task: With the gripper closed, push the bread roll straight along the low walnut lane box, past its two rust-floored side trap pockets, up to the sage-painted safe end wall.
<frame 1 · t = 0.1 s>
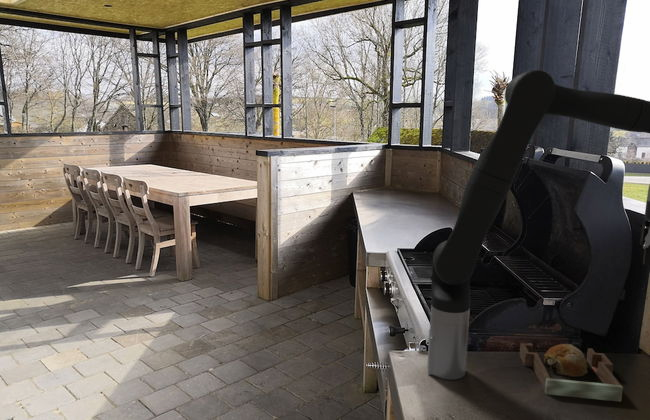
bread roll: (564, 369, 125), on the table
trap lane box: (570, 376, 120), on the table
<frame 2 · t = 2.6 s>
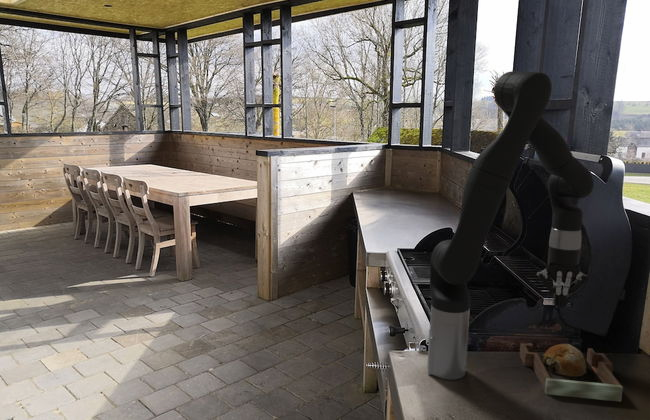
hand: (559, 307, 132), 13 cm above the table, tool pointing down, fingers closed
nothing on the table moved.
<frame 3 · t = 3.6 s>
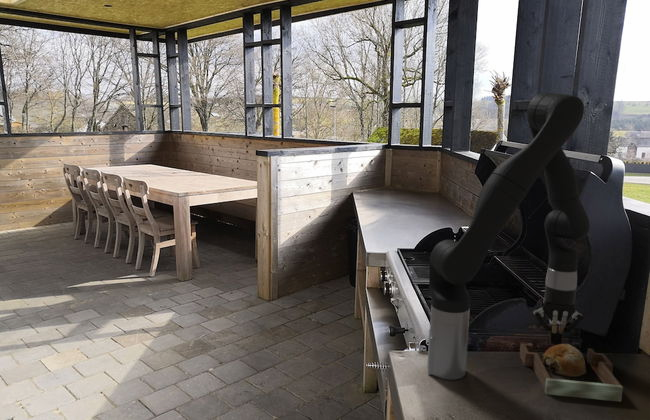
hand: (554, 344, 134), 2 cm above the table, tool pointing down, fingers closed
nothing on the table moved.
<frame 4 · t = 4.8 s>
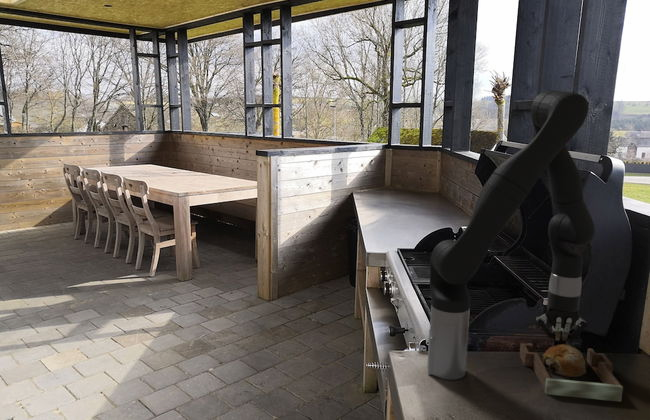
hand: (558, 352, 130), 1 cm above the table, tool pointing down, fingers closed
bread roll: (562, 369, 124), on the table, touching gripper
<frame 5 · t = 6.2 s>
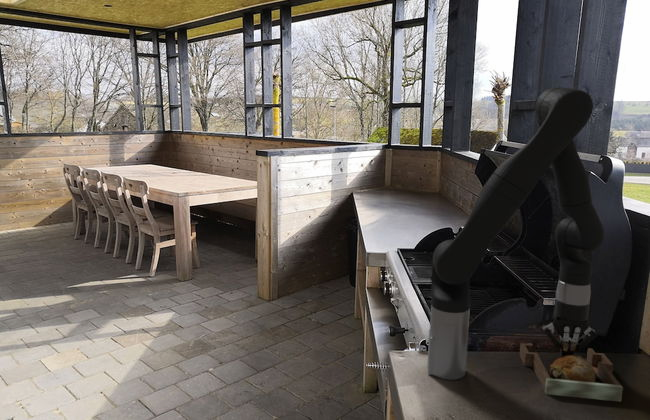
hand: (565, 362, 124), 2 cm above the table, tool pointing down, fingers closed
bread roll: (571, 381, 119), on the table
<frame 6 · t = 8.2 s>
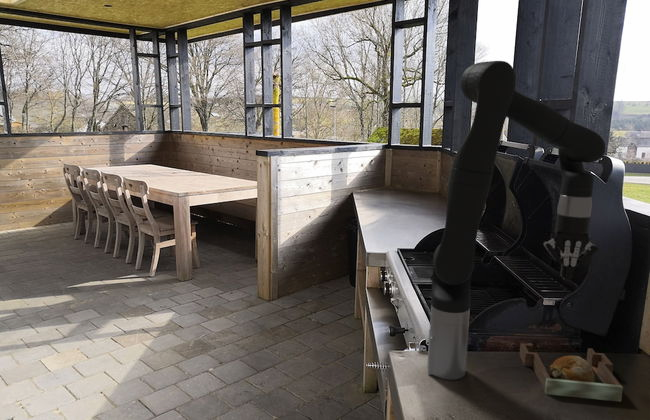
hand: (566, 279, 125), 22 cm above the table, tool pointing down, fingers closed
nothing on the table moved.
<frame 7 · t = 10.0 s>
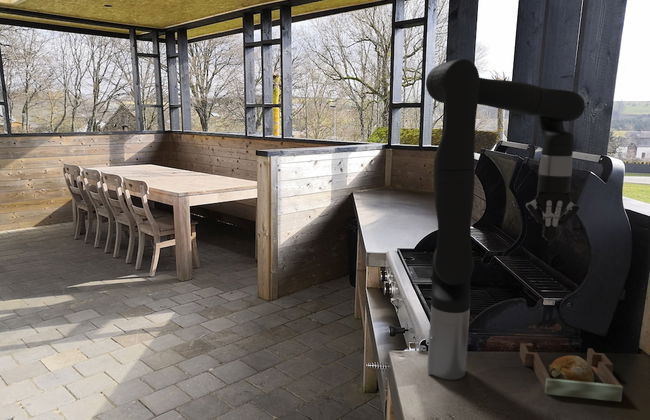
hand: (548, 239, 126), 32 cm above the table, tool pointing down, fingers closed
nothing on the table moved.
at the end: bread roll inside the target area (1.9 cm from its centre), on the table; bread roll moved 6.4 cm from its start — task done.
